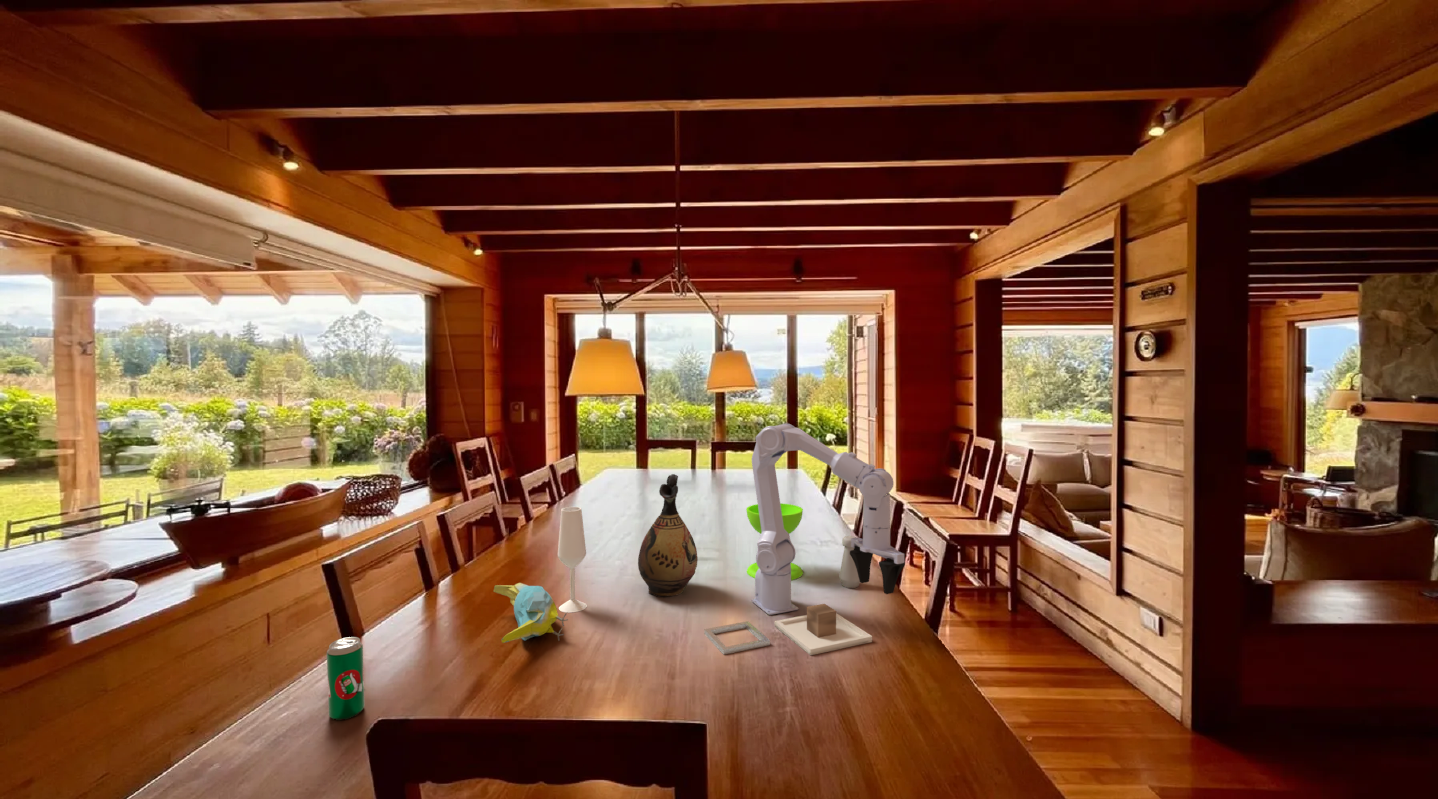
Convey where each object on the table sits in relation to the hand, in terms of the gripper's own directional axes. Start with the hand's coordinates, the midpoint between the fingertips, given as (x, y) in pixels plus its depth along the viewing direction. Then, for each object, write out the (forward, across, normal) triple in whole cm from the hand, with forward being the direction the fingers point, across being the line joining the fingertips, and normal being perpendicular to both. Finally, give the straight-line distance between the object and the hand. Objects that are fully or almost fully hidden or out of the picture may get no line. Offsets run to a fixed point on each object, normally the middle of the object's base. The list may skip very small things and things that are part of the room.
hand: (876, 587), depth 129 cm
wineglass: (+10, -43, +2) cm, 44 cm away
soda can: (+10, -18, -100) cm, 102 cm away
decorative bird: (+10, -36, -71) cm, 80 cm away
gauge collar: (+9, -11, -29) cm, 32 cm away
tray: (+9, -4, -12) cm, 16 cm away
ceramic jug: (+10, -45, -30) cm, 55 cm away
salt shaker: (+10, -24, +13) cm, 29 cm away
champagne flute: (+10, -45, -55) cm, 72 cm away
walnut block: (+9, -4, -12) cm, 15 cm away
